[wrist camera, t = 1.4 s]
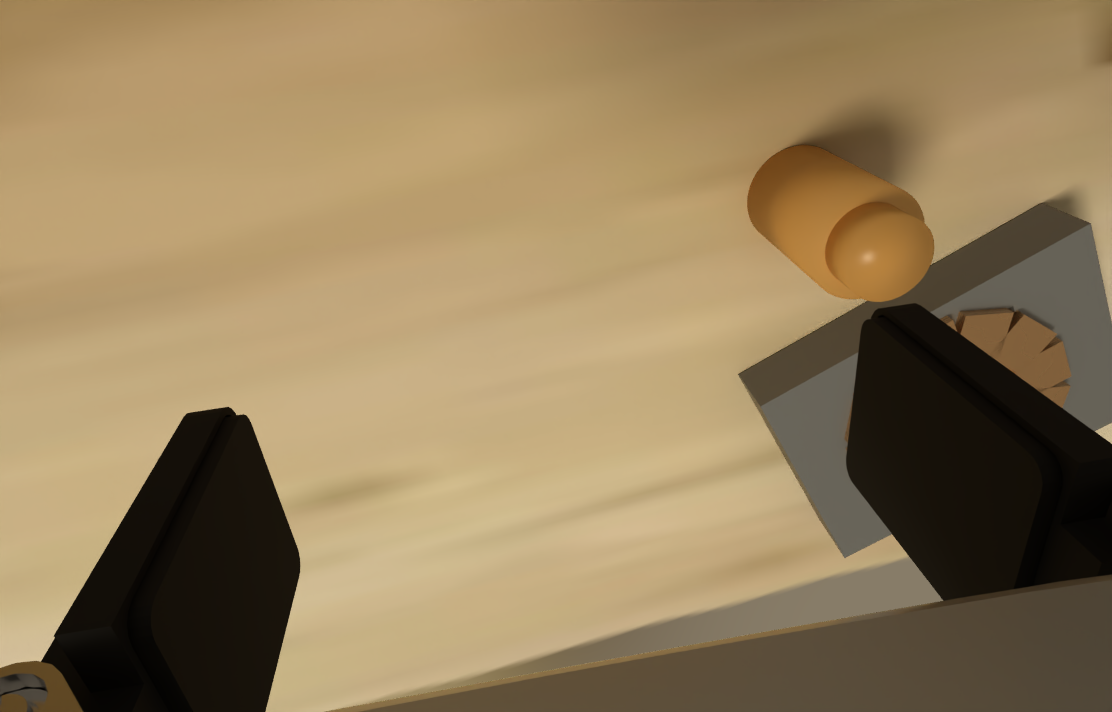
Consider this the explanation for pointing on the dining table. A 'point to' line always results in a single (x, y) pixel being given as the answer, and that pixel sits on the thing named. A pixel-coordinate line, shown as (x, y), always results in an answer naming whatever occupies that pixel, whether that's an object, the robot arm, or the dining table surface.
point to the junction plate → (949, 287)
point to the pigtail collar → (1016, 348)
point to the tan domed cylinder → (841, 224)
